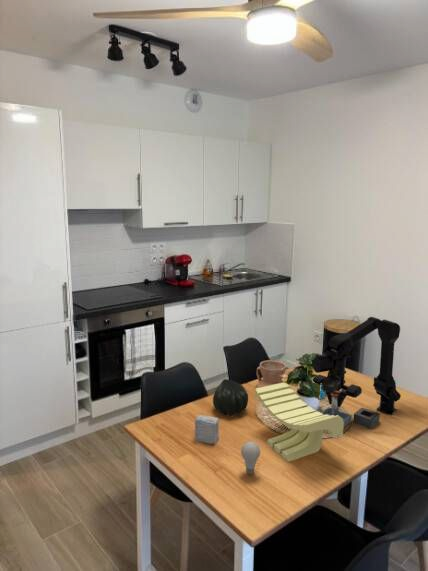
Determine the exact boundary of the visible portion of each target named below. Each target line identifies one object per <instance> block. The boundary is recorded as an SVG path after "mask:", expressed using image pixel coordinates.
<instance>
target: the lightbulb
mask: <svg viewBox="0 0 428 571" xmlns="http://www.w3.org/2000/svg"><path fill="white" fill-rule="evenodd" d="M240 453H241V457H242V458H243V461H244V463H245V464H244V465H245V472H246V474H248V475H252V474H254V473H255V468H256V464H257V461H258V459H259V457H260V456H261V449H260V446H259V444H258V443H257V442H255V441H246V442H245V443H243V445H242V446H241V451H240Z"/></svg>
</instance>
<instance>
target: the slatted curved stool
mask: <svg viewBox="0 0 428 571" xmlns="http://www.w3.org/2000/svg"><path fill="white" fill-rule="evenodd" d="M254 391H255V392H254V394H255V395H254V396H255V397H257V398H258V402H260V403H261V404H262V407H263V408H265V409H267V414H268V413H269V414H270V415H271V416H272V417H274V419H276V420H277V421H278V422H280V423H282V424H283V425H284V426H285V427H286V428H288V429H289V431H287V432H285V433H283V434H281V435H278V436H275V437H271V438H268V439H267V441H266V444H267V445H269V447H271V448H273V450H274V451H275V452H276V453H277V454H279V455H281V457H282V458H283V459H284V460H286V462H291V461H295V460H298V459H300V458H303V457H307V456H309V455H312V454H317V452H318V451H320V449H321V448H322V443H323V436H324V434H325V433H328V434H329V435H330V436H331V437H332V438H337V437H340V436H343V435H344V428H343V427H344V421H343V419H342V418H341V417H340V416H338V415H337V416H334V415H331V416H329V415H327V414H326V415H324V414H322V413H321V412H320V411H319V410H316V409H314V408H313V407H311V406H309V405H308V403H306V402H304V400H301V397H300V396H299V395H298V394H297V393H296V392H295V390H293V388H292V387H291V385H289V384H288V383H286V382H285V383H279V384H274V385H270V386H265V387H260V388H257V387H256V388H254Z"/></svg>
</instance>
